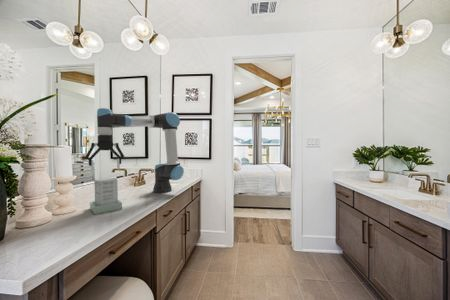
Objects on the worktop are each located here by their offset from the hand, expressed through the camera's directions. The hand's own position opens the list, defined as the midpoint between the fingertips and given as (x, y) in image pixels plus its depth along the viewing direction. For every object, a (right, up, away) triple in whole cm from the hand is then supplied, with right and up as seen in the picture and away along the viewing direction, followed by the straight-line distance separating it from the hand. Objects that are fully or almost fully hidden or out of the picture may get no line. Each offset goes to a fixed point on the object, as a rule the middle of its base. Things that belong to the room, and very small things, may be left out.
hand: (105, 170), depth 120 cm
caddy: (0, -23, 0) cm, 23 cm away
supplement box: (0, -22, 0) cm, 22 cm away
